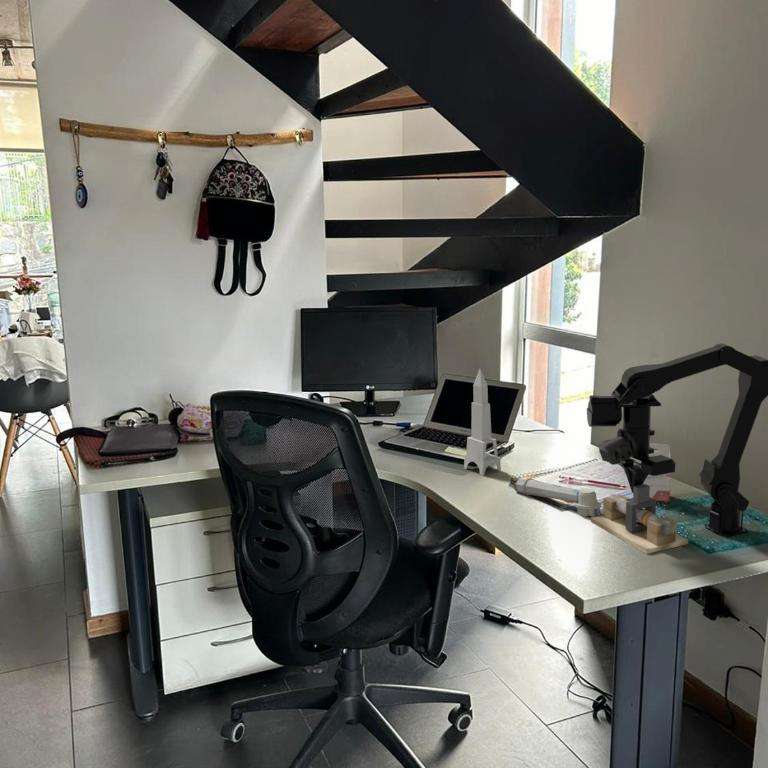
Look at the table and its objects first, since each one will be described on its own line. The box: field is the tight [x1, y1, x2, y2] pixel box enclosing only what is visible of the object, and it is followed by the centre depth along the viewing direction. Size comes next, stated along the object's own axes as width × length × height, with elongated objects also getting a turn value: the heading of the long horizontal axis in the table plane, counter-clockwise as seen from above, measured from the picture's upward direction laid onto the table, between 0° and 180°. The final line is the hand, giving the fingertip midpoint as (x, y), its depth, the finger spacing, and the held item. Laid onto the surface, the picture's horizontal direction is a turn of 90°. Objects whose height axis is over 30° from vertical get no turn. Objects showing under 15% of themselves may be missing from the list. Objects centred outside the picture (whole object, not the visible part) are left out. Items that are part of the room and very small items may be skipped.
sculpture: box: [463, 368, 502, 477], centre depth 206 cm, size 7×8×30 cm
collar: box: [626, 484, 657, 533], centre depth 160 cm, size 6×2×10 cm, turn 110°
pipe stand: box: [590, 493, 689, 555], centre depth 161 cm, size 11×19×6 cm, turn 20°
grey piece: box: [513, 477, 602, 518], centre depth 180 cm, size 5×7×25 cm
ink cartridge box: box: [643, 443, 671, 503], centre depth 180 cm, size 9×5×15 cm, turn 68°
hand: (634, 492), depth 161 cm, fingers closed
